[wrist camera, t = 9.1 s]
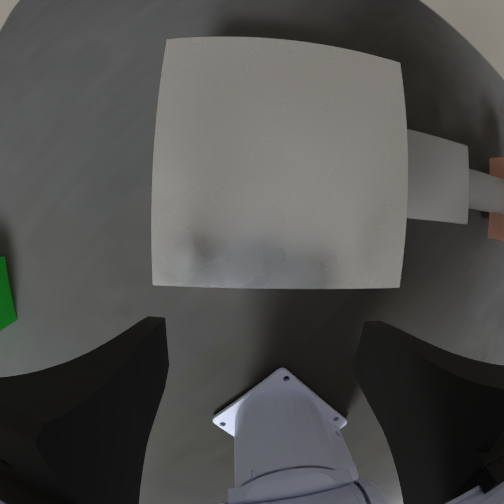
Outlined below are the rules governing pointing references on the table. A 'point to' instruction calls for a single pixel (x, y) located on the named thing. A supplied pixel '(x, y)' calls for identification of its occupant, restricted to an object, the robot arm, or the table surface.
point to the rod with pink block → (452, 183)
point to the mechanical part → (5, 297)
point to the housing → (278, 166)
